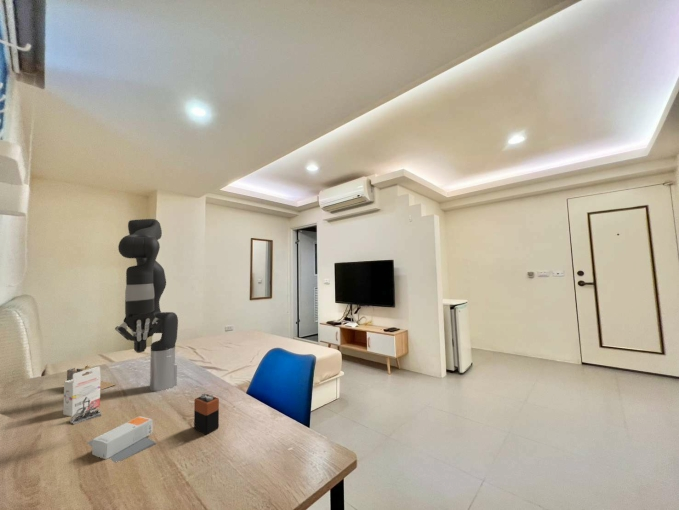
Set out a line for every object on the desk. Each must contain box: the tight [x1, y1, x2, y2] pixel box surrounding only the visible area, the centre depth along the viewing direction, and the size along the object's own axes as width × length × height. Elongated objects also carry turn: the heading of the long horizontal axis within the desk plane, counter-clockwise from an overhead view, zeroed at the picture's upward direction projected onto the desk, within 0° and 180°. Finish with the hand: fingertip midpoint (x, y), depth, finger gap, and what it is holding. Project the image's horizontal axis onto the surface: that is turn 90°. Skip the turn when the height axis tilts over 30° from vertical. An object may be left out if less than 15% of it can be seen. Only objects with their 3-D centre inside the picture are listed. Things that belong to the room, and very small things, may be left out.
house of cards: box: [69, 397, 102, 425], centre depth 91 cm, size 9×9×8 cm
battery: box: [193, 393, 220, 435], centre depth 82 cm, size 4×7×10 cm, turn 58°
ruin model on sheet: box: [61, 364, 117, 391], centre depth 116 cm, size 25×16×10 cm, turn 68°
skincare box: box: [91, 415, 153, 460], centre depth 74 cm, size 6×4×12 cm
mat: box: [87, 436, 157, 464], centre depth 73 cm, size 13×18×1 cm
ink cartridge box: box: [62, 366, 102, 417], centre depth 95 cm, size 9×5×15 cm, turn 162°
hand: (140, 351), depth 84 cm, fingers closed
